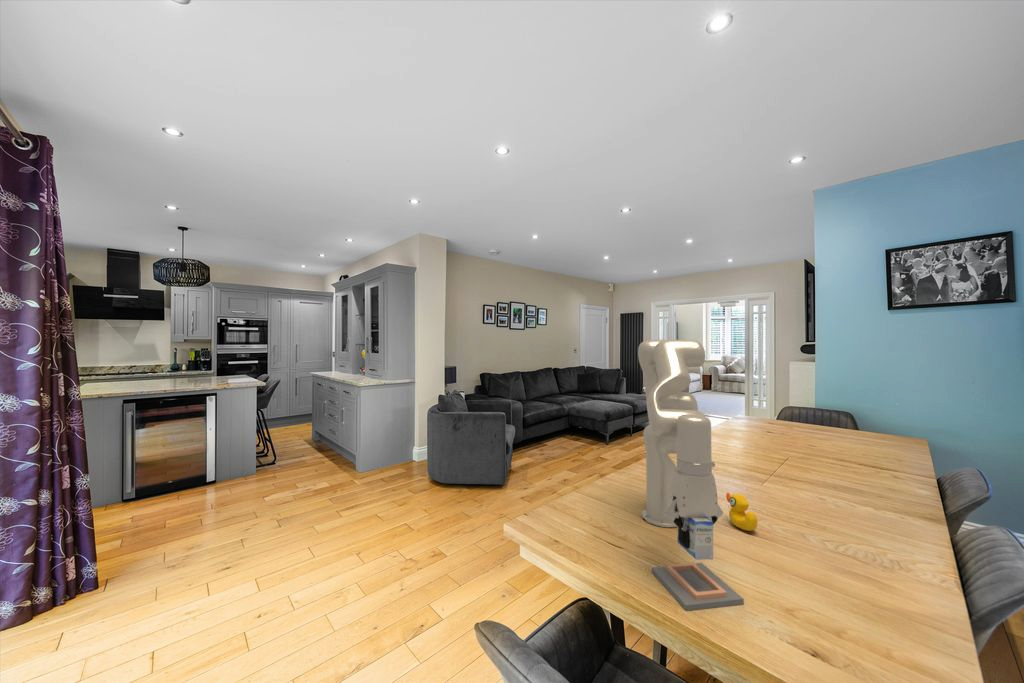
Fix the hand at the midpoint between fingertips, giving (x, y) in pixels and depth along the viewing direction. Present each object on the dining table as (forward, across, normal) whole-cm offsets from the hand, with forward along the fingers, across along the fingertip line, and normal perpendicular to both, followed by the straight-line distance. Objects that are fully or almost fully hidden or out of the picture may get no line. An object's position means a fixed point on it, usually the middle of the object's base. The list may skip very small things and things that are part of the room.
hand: (694, 543), depth 87 cm
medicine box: (+2, 0, 0) cm, 2 cm away
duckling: (+10, -34, -25) cm, 44 cm away
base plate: (+10, 0, 0) cm, 10 cm away
